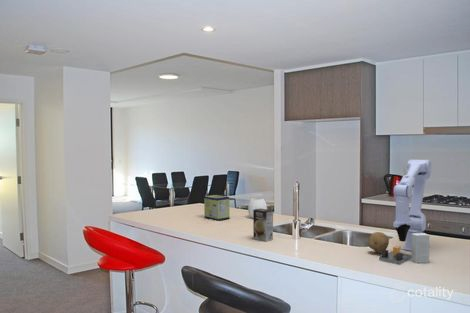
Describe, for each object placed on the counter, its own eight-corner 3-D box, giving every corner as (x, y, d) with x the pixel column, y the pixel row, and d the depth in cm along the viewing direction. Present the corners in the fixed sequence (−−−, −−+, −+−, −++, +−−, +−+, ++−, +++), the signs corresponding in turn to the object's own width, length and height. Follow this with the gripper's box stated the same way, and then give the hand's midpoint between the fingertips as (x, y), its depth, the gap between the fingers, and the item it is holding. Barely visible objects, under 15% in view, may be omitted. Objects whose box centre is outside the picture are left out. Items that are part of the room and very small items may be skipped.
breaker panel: (392, 254, 185) (392, 246, 185) (411, 258, 179) (412, 249, 179) (379, 260, 176) (379, 251, 176) (399, 264, 170) (399, 255, 170)
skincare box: (424, 260, 176) (424, 232, 176) (429, 262, 172) (429, 235, 172) (410, 260, 176) (411, 233, 176) (415, 263, 172) (415, 235, 172)
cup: (249, 216, 288) (249, 197, 288) (267, 216, 286) (267, 197, 286) (247, 219, 275) (247, 199, 275) (266, 219, 273) (266, 200, 273)
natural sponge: (374, 256, 182) (374, 234, 182) (364, 251, 191) (364, 230, 191) (392, 255, 184) (392, 233, 184) (381, 250, 193) (381, 229, 193)
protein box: (215, 216, 289) (215, 194, 288) (230, 219, 277) (229, 196, 277) (203, 218, 282) (203, 196, 281) (218, 221, 270) (218, 198, 270)
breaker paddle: (395, 253, 180) (395, 246, 180) (400, 254, 179) (400, 246, 179) (392, 255, 178) (392, 247, 178) (397, 255, 177) (397, 248, 176)
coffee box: (252, 239, 218) (252, 209, 217) (260, 237, 223) (260, 208, 222) (266, 241, 212) (266, 211, 211) (273, 239, 216) (273, 209, 216)
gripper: (404, 214, 174) (404, 245, 174) (417, 210, 184) (417, 239, 185) (388, 212, 179) (388, 242, 179) (402, 208, 189) (402, 237, 190)
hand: (402, 241), depth 182 cm, fingers closed
